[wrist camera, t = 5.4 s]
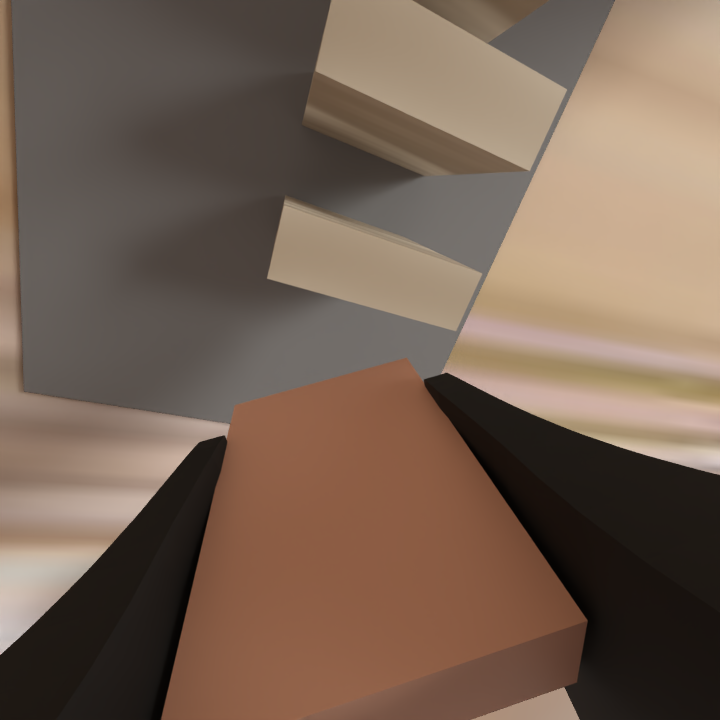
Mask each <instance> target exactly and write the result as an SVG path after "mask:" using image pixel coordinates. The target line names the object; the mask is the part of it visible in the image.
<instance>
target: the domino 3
mask: <svg viewBox="0 0 720 720" xmlns="http://www.w3.org/2000/svg"><path fill="white" fill-rule="evenodd" d="M587 622H588V620H587V619H586V618H585V616H584V615H583V613H582V612H581V610H580V609H579V607H578V606H577V604H576V603H575V602H574V600H573V599H572V597H571V596H570V594H569V593H568V591H567V590H566V588H565V587H564V586H563V584H562V583H561V581H560V580H559V578H558V577H557V575H556V574H555V572H554V571H553V570H552V568H551V567H550V565H549V564H548V562H547V561H546V559H545V558H544V556H543V555H542V554H541V552H540V551H539V549H538V548H537V546H536V545H535V543H534V542H533V541H532V539H531V538H530V536H529V535H528V533H527V532H526V530H525V529H524V527H523V526H522V525H521V523H520V522H519V520H518V519H517V517H516V516H515V514H514V513H513V511H512V510H511V509H510V507H509V506H508V504H507V503H506V501H505V500H504V498H503V497H502V495H501V494H500V493H499V491H498V490H497V488H496V487H495V485H494V484H493V482H492V481H491V479H490V478H489V477H488V475H487V474H486V472H485V471H484V469H483V468H482V466H481V465H480V463H479V462H478V461H477V459H476V458H475V456H474V455H473V453H472V452H471V450H470V449H469V447H468V446H467V445H466V443H465V442H464V440H463V439H462V437H461V436H460V434H459V433H458V431H457V430H456V429H455V427H454V426H453V424H452V423H451V421H450V420H449V418H448V417H447V416H446V415H445V414H444V413H443V411H442V410H441V409H440V408H439V406H438V405H437V403H436V402H435V400H434V399H433V398H432V396H431V395H430V393H429V392H428V390H427V389H426V387H425V385H424V382H423V381H422V379H421V378H420V376H419V375H418V373H417V372H416V370H415V369H414V367H413V366H412V365H411V363H410V362H409V360H408V359H407V358H403V359H400V360H396V361H393V362H389V363H385V364H382V365H378V366H375V367H371V368H367V369H364V370H360V371H356V372H353V373H349V374H346V375H342V376H338V377H335V378H331V379H327V380H324V381H320V382H317V383H313V384H309V385H306V386H302V387H299V388H295V389H291V390H288V391H284V392H280V393H277V394H273V395H270V396H266V397H262V398H259V399H255V400H251V401H248V402H244V403H241V404H237V405H235V406H234V410H233V415H232V419H231V423H230V428H229V432H228V436H227V447H226V451H225V455H224V460H223V464H222V469H221V473H220V475H219V478H218V481H217V484H216V487H215V492H214V496H213V500H212V504H211V509H210V513H209V517H208V521H207V526H206V530H205V534H204V538H203V543H202V547H201V551H200V556H199V560H198V564H197V568H196V573H195V577H194V581H193V585H192V590H191V594H190V598H189V602H188V607H187V611H186V615H185V620H184V624H183V628H182V632H181V637H180V641H179V645H178V649H177V654H176V658H175V662H174V666H173V671H172V675H171V679H170V684H169V688H168V692H167V696H166V701H165V705H164V709H163V713H162V718H161V720H471V719H474V718H477V717H480V716H483V715H486V714H488V713H491V712H494V711H497V710H500V709H503V708H506V707H508V706H511V705H514V704H517V703H520V702H523V701H525V700H528V699H531V698H534V697H537V696H540V695H542V694H545V693H548V692H551V691H554V690H557V689H560V688H562V687H565V686H568V685H571V684H574V683H577V678H578V673H579V667H580V661H581V656H582V650H583V644H584V639H585V633H586V627H587Z"/></svg>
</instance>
